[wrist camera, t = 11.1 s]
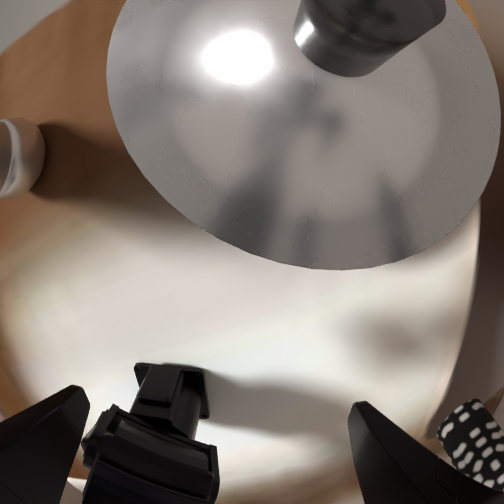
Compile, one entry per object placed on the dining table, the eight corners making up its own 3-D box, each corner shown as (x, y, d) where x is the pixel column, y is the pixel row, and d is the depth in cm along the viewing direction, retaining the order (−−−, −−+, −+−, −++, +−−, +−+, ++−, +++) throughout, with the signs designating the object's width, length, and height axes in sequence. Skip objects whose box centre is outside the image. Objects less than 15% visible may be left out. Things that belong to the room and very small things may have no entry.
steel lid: (482, 258, 12) (553, 297, 6) (121, 261, 12) (43, 323, 6) (450, -23, 7) (494, -55, 1) (146, -58, 7) (115, -112, 1)
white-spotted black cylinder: (479, 413, 27) (530, 491, 7) (438, 443, 28) (481, 530, 9) (480, 389, 25) (544, 479, 6) (433, 424, 26) (486, 528, 7)
